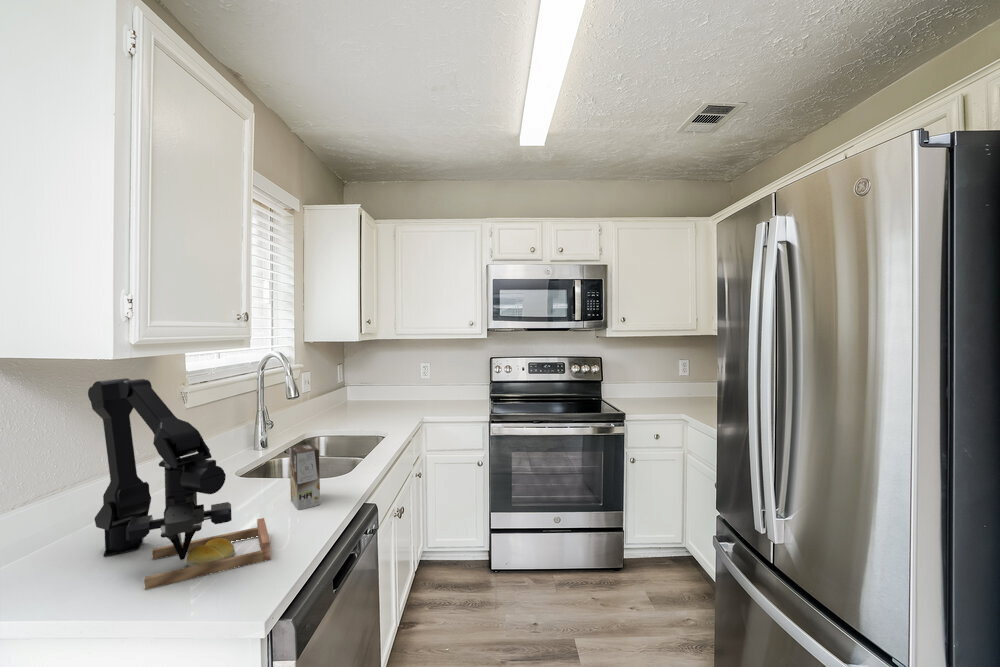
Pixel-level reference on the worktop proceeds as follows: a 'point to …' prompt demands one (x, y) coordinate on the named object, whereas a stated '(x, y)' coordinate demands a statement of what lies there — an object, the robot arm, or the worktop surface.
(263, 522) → the guide channel
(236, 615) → the worktop surface
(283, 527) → the worktop surface
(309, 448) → the coffee box
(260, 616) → the worktop surface
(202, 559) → the bread roll
